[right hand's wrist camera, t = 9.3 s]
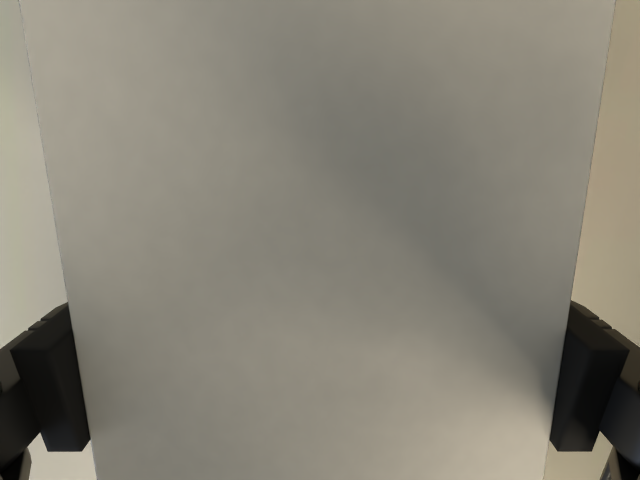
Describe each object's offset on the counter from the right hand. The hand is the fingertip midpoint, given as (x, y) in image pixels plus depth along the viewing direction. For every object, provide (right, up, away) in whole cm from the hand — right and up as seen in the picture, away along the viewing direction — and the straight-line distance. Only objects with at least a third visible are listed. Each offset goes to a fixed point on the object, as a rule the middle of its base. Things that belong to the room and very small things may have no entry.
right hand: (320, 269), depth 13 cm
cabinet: (0, +5, +2) cm, 5 cm away
